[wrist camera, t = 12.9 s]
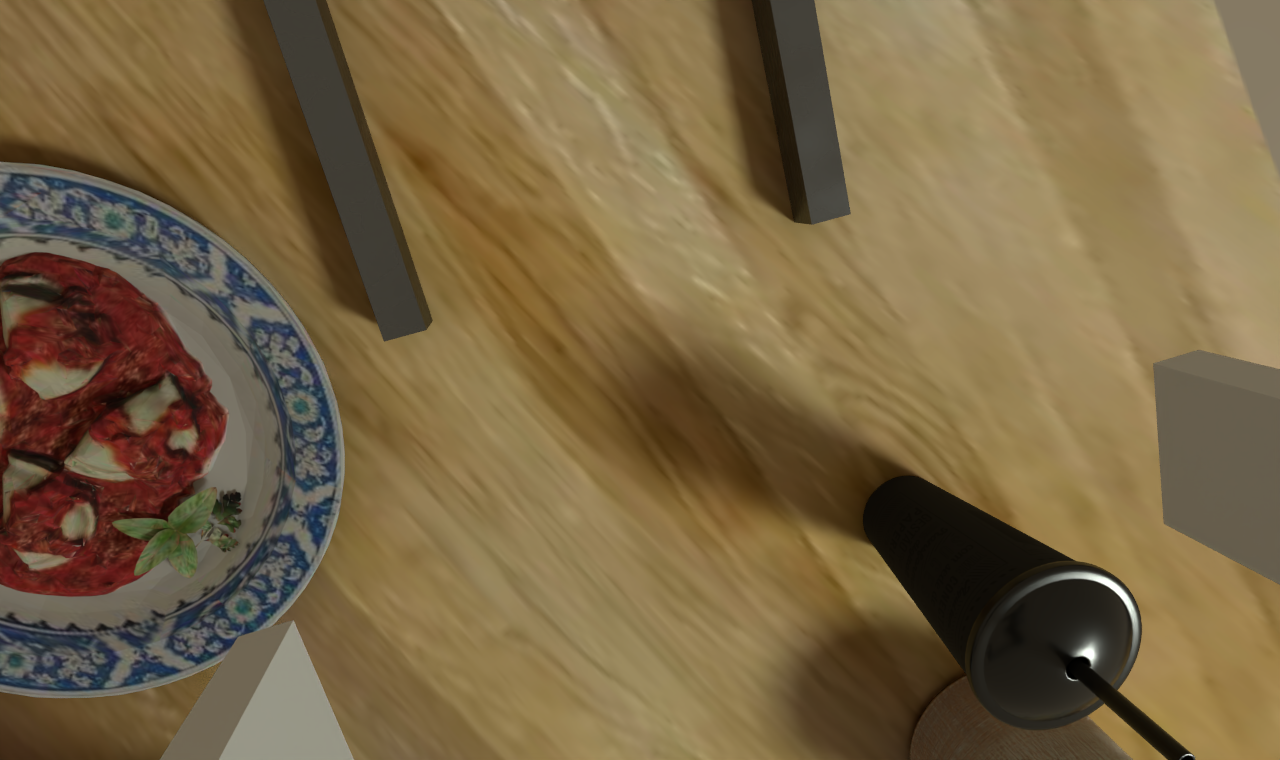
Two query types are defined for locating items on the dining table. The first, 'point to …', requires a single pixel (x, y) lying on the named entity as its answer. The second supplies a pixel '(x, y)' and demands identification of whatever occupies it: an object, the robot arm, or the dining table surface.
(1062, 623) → the drinking cup
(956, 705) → the planter
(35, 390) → the ceramic plate
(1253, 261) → the dining table surface
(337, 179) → the guide lane
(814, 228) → the dining table surface
